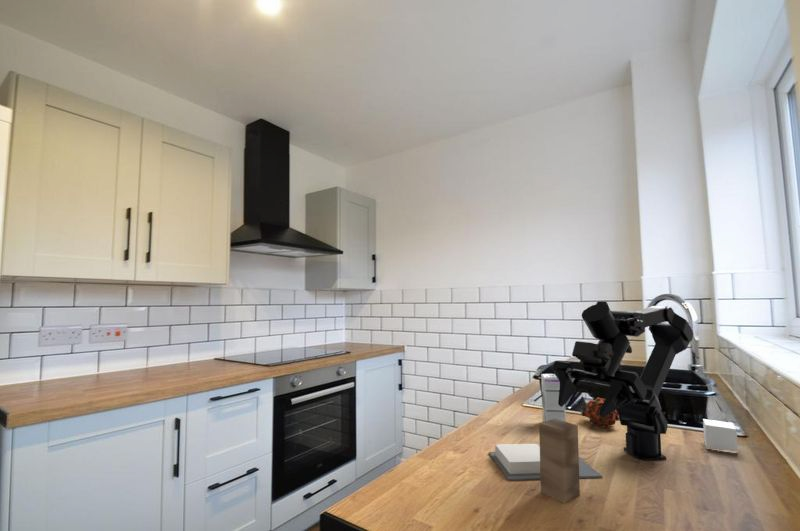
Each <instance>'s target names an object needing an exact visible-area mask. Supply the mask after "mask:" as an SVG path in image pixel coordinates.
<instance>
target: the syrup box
mask: <svg viewBox="0 0 800 531" xmlns="http://www.w3.org/2000/svg"><path fill="white" fill-rule="evenodd" d="M540 376H541V377H540V378H541V398H542V399H541V401H542V402H541V405H542V406H541V408H542V422H544V421H548V420H552V419H558V420H561V421H565V422H567V420H566V416H567V415H566V403H565V404H564V405H563V406H562V407H560V406H559V404H558V399H559V389H560V381H559V380H558V378H557V377H556V375H555V374H554V373H541V374H540Z"/></svg>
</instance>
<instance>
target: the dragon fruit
mask: <svg viewBox="0 0 800 531" xmlns="http://www.w3.org/2000/svg"><path fill="white" fill-rule="evenodd" d="M605 399H606V398H601V397H596V399H594V400H588V401H587V403H585V406H584V407H582V409H585V410H581V411H580V414H581V415H582V416H583V417H586V418H589V423H590V424H591V425H593V426H599V427H601V428H604V429H607V428H609V427H610V426H614V425H615V424H616V422H617V421H620V419H619V415H618V411H617V409H616V410H615V411H613V412H611V413H610V414H608V415H607V416H605V417H603V418H602V417H600V415H599V412H600V409H601V407H602V405H603V403H604V401H605Z"/></svg>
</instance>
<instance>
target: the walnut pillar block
mask: <svg viewBox="0 0 800 531" xmlns="http://www.w3.org/2000/svg"><path fill="white" fill-rule="evenodd" d="M538 424H539V425H538V429H539V430H538V431H539V432H538V433H539V435H538V436H539V446H540V478H541V480H540V493H542V494H544V495H547V496H548V497H550V498H552V499H554V500H556V501H558V502H561V503H562V504H566V503H568V502H571V501H572V500H574V499H576V498H579V497H581V488H580V486H581V484H580V481H581V480H580V478H579V458H580V457H579V456H580V454H579V427H578V424H574V423H571V422H567V421H566V422H565V421H561V420H558V419H552V420H548V421H544V422H543V421H540V422H539V423H538Z"/></svg>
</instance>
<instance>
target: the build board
mask: <svg viewBox="0 0 800 531" xmlns="http://www.w3.org/2000/svg"><path fill="white" fill-rule="evenodd" d="M494 446H495V448H494V451H488V455H489V456H490V457H491V459H492V461H494V463H495V464H496V465H497V467H498V468H499V470H500V471H501V473H502V474H503V476H505V478H506V479H507V480H508V481H536V480H537V481H538V480H539V481H541V478H540V444H539V445H538V443H512V444H511V443H508V444H507V443H505V444H494ZM598 478H599V479H602V478H603V475H602V474H601V473H600V472H599V471H597V470H596V469H595V468H593V467H592V466H591V465H590V464H588V463H587V462H586V461H585V460H583V459H582V458H581V457H579V479H598Z"/></svg>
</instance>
